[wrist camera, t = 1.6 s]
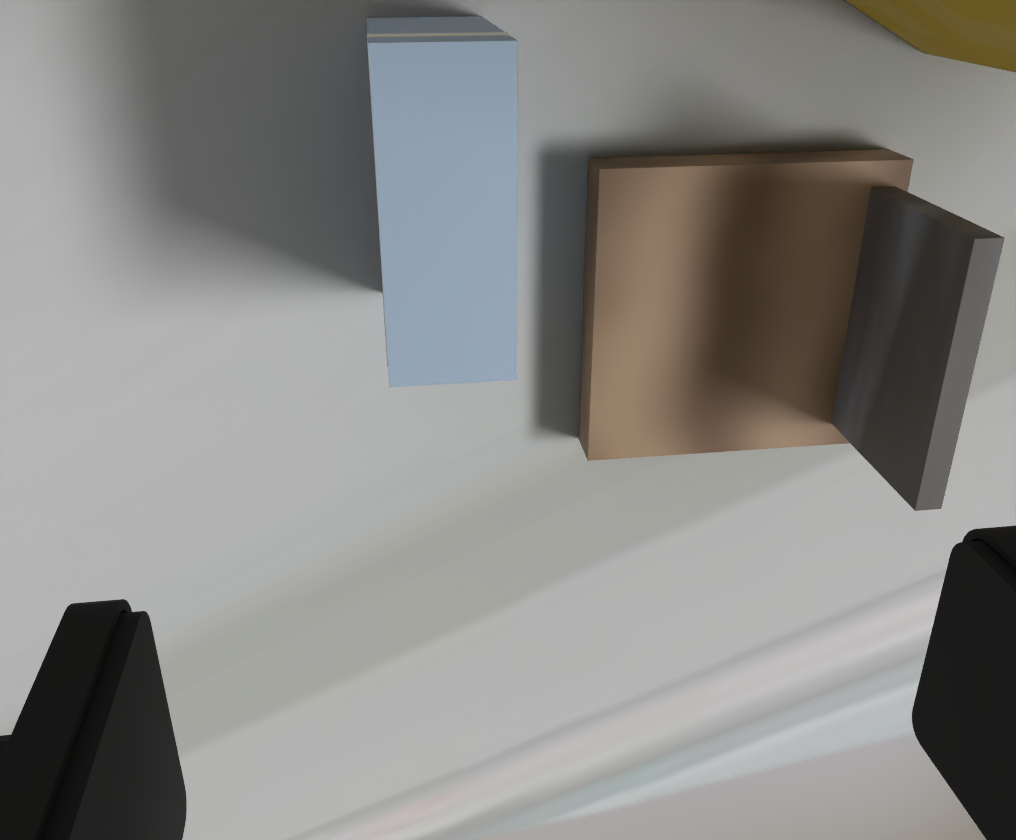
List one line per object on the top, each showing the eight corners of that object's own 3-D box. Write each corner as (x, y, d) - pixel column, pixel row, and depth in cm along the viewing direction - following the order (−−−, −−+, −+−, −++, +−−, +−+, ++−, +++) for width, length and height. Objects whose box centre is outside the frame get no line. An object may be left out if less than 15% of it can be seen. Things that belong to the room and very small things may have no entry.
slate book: (481, 15, 34) (518, 39, 26) (485, 288, 38) (517, 380, 31) (365, 16, 34) (367, 42, 26) (383, 293, 38) (388, 387, 30)
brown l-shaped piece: (887, 149, 38) (1026, 205, 30) (841, 421, 43) (948, 531, 35) (588, 157, 37) (651, 219, 29) (578, 438, 42) (628, 556, 34)
